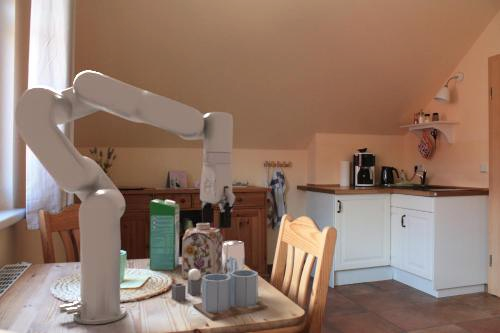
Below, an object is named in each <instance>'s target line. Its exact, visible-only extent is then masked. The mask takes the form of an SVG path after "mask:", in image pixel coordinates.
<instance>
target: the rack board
mask: <svg viewBox="0 0 500 333" xmlns="http://www.w3.org/2000/svg"><path fill="white" fill-rule="evenodd" d="M192 305H193V306H192V307H193V309H195V310H197V311H198V312H199V313H201V314H202V315H204V317H207V318H208V319H209V320H211V321H215V320H221V319H226V318H231V317H235V316H240V315H243V314H249V313H254V312H258V311H264V310H267V309H268V305H266V304H265V303H263V302H261V301H259V300H258V302H257V304H256V305H254V306H249V307H238V306H234V305H232V304H231V308H230V309H229V310H228V311H224V312H219V313H213V312H206V311H204V310H203V309H202V302H199V303H193V304H192Z"/></svg>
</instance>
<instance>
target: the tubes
mask: <svg viewBox="0 0 500 333" xmlns="http://www.w3.org/2000/svg"><path fill="white" fill-rule="evenodd" d="M258 286H259V273H258V272H257V271H255V270H251V269H243V270H236V271H232V272H231V273H230V276H229V275H227V274H223V273H221V274H208V275H205V276H203V277H202V280H201V303H202V309H203V310H204V311H206V312H213V313H219V312H224V311H228V310H229V309H230V308H231V304H232V305H234V306H238V307H249V306H254V305H256V304H257V302H258V301H259V297H258V296H259V292H258V291H259V289H258V288H259V287H258Z"/></svg>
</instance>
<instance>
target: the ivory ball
mask: <svg viewBox="0 0 500 333" xmlns="http://www.w3.org/2000/svg"><path fill="white" fill-rule="evenodd" d="M188 277H189V279H190V280H191V281H197V280H198V279H199V278H200V271H199V270H198V269H192V270H190V271H189V273H188Z"/></svg>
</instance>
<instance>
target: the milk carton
mask: <svg viewBox="0 0 500 333" xmlns="http://www.w3.org/2000/svg"><path fill="white" fill-rule="evenodd" d="M149 205H150V206H149V210H150V211H149V270H153V271H155V270H156V271H157V270H158V271H159V270H160V271H162V270H163V271H164V270H165V271H168V270H169V271H174V270H176V269H177V267H178V265H179V264H180V204H177V203H176V201H175V200H172V199H165V200H163V199H159V198H155V199H153V200H150V201H149Z"/></svg>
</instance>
